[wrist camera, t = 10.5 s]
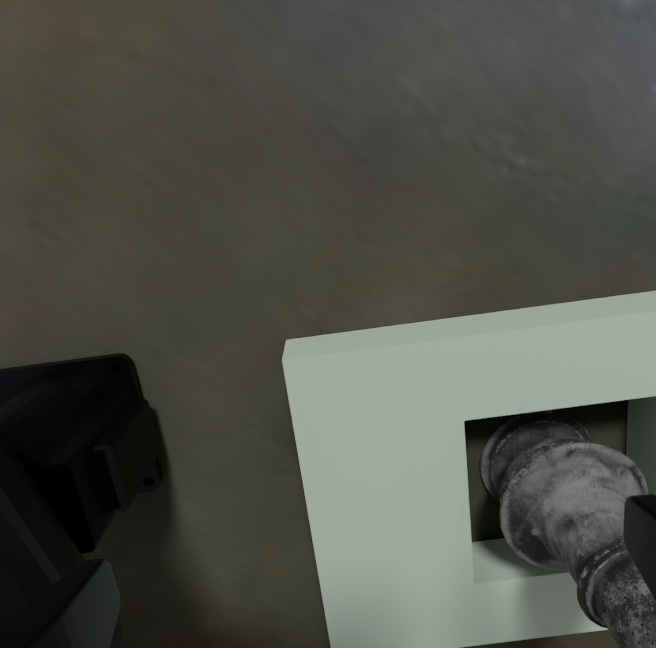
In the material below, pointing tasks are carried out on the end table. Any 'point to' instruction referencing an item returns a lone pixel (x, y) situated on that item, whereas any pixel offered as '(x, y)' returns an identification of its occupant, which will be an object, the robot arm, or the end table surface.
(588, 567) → the grey stone chess bishop
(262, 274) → the end table surface
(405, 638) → the socket board
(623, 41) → the end table surface
